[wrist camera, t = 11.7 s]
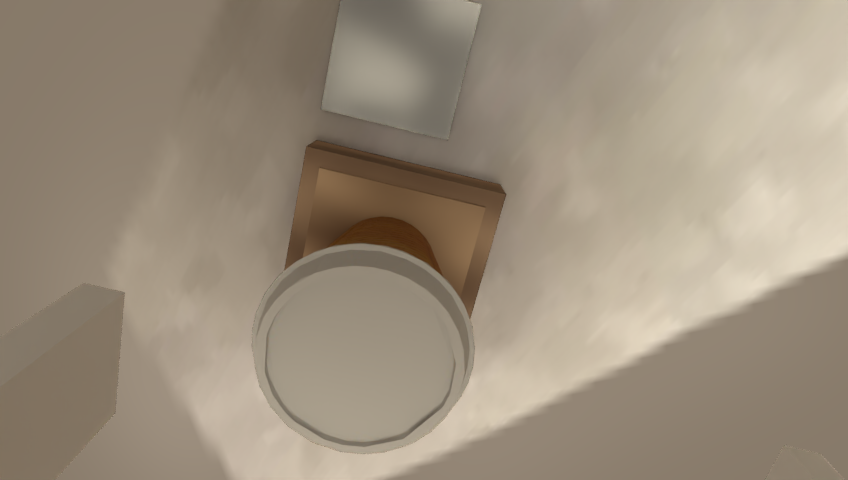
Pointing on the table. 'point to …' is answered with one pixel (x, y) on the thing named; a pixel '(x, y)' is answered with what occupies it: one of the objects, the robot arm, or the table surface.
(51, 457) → the robot arm
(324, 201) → the walnut base
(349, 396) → the disposable coffee cup
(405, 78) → the slate coaster
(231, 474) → the table surface
